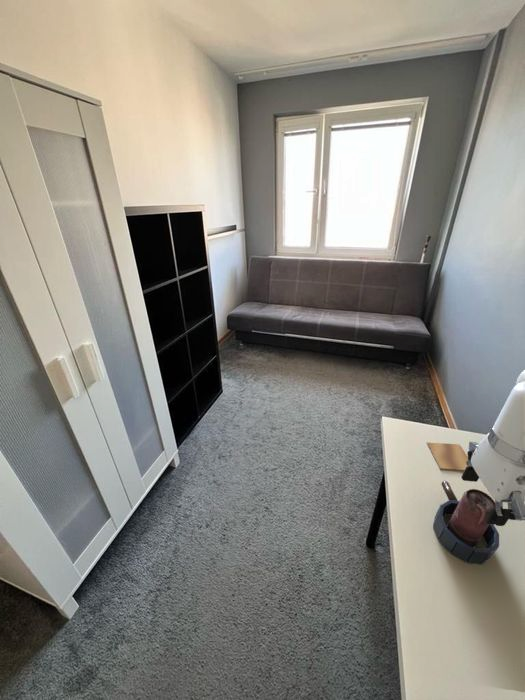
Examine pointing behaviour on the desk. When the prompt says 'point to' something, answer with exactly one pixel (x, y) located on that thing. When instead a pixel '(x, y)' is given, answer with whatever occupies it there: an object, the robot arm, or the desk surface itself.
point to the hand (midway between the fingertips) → (480, 499)
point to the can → (471, 517)
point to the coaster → (449, 456)
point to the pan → (457, 546)
